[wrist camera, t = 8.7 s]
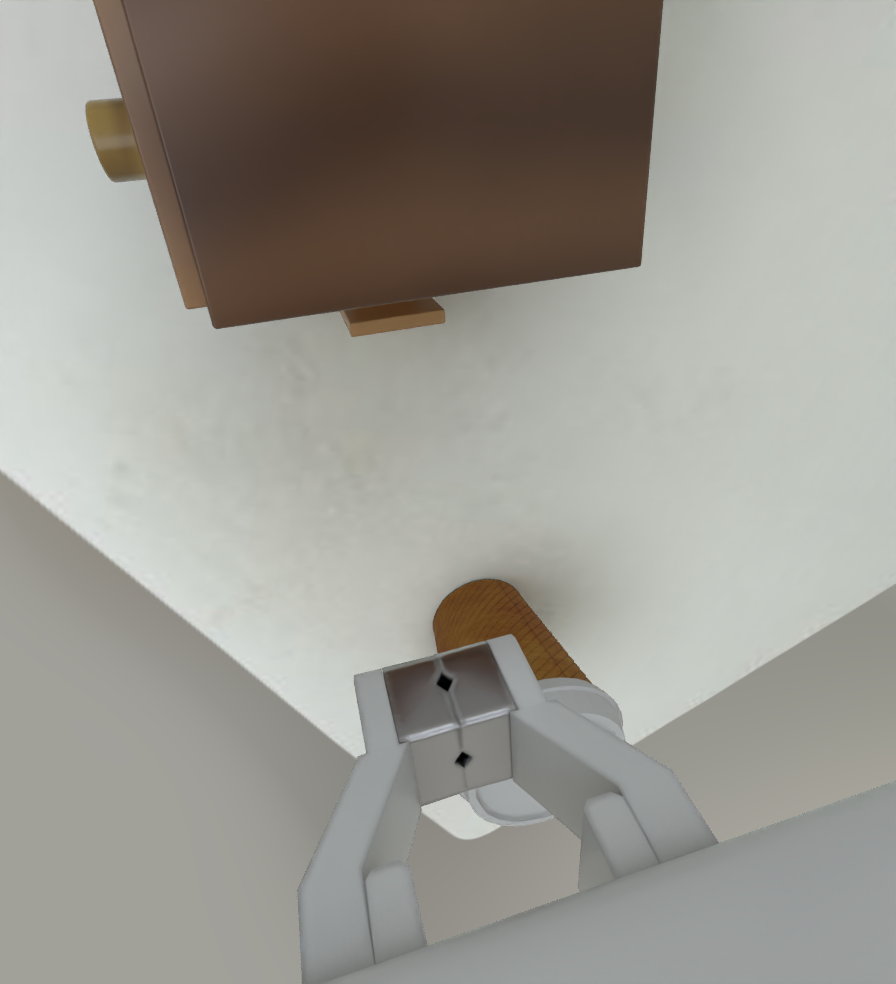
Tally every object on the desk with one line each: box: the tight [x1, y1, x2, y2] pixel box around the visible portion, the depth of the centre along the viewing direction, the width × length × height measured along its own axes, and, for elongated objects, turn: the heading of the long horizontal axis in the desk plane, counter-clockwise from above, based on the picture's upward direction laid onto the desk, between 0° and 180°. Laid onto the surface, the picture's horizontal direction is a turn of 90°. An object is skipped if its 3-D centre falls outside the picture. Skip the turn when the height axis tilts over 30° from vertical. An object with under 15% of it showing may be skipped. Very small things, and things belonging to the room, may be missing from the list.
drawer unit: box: [86, 0, 663, 329], centre depth 20 cm, size 8×14×13 cm, turn 94°
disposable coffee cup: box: [433, 579, 626, 826], centre depth 36 cm, size 10×10×12 cm
